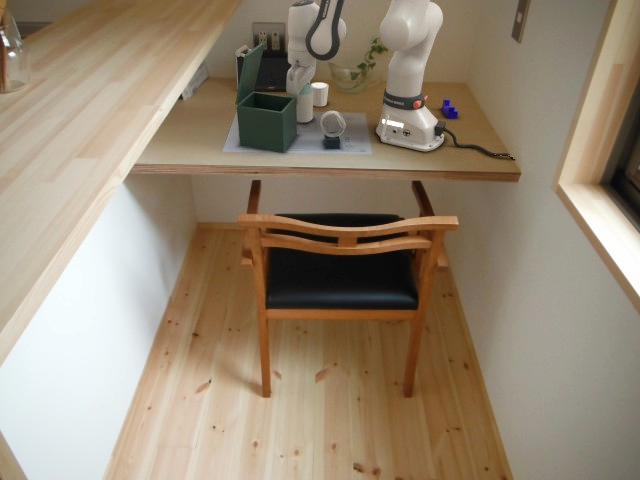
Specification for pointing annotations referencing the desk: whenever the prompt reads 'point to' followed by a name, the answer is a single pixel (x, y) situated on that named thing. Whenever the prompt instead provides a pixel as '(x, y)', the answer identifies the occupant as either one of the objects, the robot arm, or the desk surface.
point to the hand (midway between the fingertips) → (301, 98)
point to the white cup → (320, 93)
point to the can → (305, 105)
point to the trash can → (267, 121)
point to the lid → (248, 70)
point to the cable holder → (449, 109)
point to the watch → (332, 137)
